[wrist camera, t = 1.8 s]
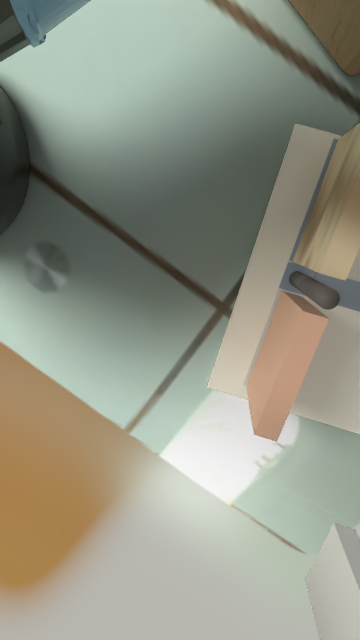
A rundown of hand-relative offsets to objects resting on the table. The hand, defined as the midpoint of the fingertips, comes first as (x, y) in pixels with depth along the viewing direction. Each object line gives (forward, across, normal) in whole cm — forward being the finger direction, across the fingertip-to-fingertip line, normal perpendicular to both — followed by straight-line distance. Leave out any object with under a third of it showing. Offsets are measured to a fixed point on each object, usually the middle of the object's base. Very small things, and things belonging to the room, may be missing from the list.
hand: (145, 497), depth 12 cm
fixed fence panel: (+18, +7, +12) cm, 23 cm away
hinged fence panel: (+17, +7, +2) cm, 19 cm away
